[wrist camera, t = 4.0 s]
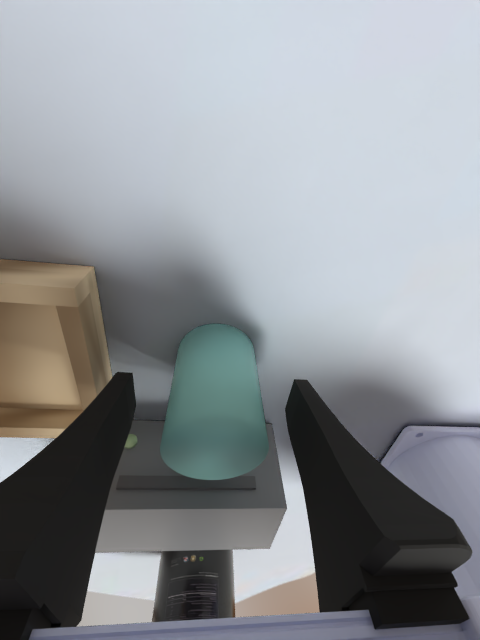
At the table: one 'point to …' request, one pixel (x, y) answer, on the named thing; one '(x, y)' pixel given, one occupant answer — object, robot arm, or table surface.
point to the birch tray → (49, 346)
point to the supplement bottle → (195, 586)
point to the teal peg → (214, 406)
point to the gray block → (188, 502)
